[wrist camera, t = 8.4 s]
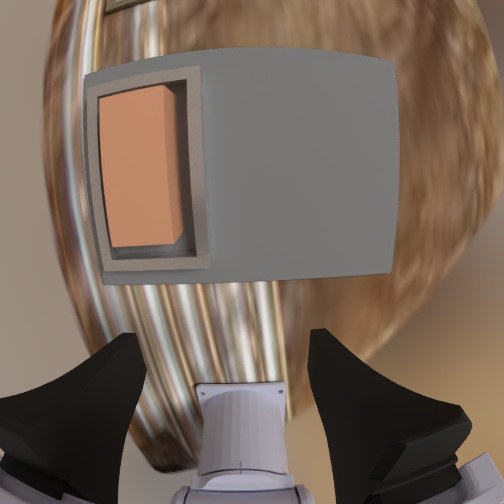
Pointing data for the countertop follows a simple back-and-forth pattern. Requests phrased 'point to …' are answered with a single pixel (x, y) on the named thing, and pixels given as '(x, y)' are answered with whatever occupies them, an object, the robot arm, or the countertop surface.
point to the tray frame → (198, 174)
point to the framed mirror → (120, 4)
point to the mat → (282, 164)
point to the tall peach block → (141, 167)
